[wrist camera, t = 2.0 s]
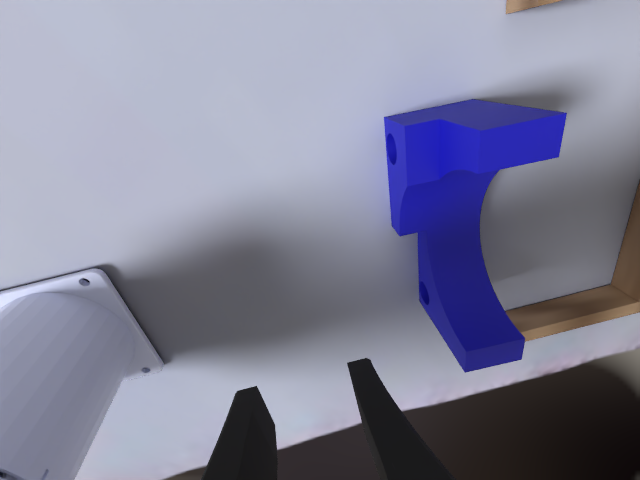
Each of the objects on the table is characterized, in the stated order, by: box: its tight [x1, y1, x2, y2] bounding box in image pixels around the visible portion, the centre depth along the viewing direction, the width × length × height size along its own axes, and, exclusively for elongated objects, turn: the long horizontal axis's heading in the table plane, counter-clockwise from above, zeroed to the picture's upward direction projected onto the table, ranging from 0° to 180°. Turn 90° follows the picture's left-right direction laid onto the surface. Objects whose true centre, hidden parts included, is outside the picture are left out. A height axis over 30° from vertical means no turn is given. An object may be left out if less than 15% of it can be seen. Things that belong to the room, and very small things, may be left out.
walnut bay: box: [505, 0, 640, 342], centre depth 18 cm, size 10×20×2 cm, turn 12°
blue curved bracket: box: [384, 99, 567, 372], centre depth 16 cm, size 12×4×6 cm, turn 10°
